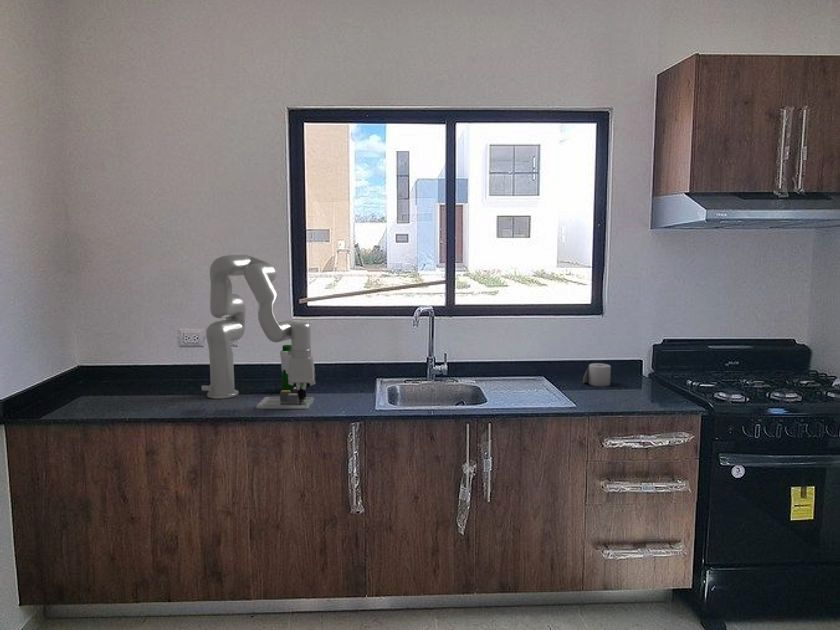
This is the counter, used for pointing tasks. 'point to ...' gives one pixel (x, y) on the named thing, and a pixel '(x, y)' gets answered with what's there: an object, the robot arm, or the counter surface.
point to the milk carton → (286, 368)
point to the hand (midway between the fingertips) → (302, 398)
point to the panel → (283, 403)
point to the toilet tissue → (598, 374)
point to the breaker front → (292, 399)
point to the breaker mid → (284, 395)
